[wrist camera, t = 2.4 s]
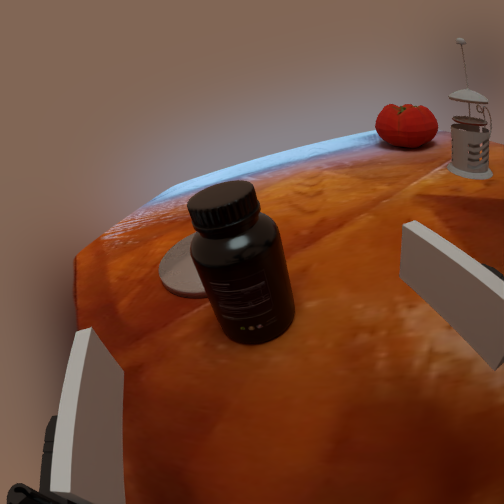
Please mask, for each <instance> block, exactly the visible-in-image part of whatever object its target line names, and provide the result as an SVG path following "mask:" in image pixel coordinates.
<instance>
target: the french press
mask: <svg viewBox="0 0 504 504" xmlns="http://www.w3.org/2000/svg"><path fill="white" fill-rule="evenodd" d="M456 43H457V44H460V45H461V49H462V54H463V48H462V44H466V42H465V40H464V39H462V38H457V39H456ZM463 60H464V54H463ZM464 67H465V60H464ZM465 74H466V67H465ZM466 83H467V74H466ZM448 97H449V99H451V100H455V101H460V102H467V103H469V117H468V116H467V117H466V116H454V117H453V118H452V119H453V120H454V121H455V122H457V123H461V124H453V125H451V138H452V162H450V163H449V164H448V166H447V168H448V170H449V171H450V172H452V173H454V174H456V175H459V176H462V177H466V178H471V179H488V178H490V177H492V176H493V173H492V171H491V170H490V169H489V168H488V166H489V161H488V159H489V138H490V135H491V129H492V123H491V117H490V124H491V125H490V127H491V128H490V134H489V130H488V129H486V128H485V126H486V125H487V121H485V115H484V107H485V106H483V110H482V108H481V107H480V106H479V105H477V106H476V107H477V111H478V106H479V107H480V108H481V110H482V112H480V111H478V112H479V113H483V116H484V120H482V119H480V118H479V119H477V118H472V117H470V103H476V104H488V102H489V101H488V100H487V99H486V98H485V97H484V96H483V95H481V94H479V93H477V92H475V91H471V90H470V89H468V83H467V89H465V90H458V91H456V92H454V93H452V94H450V95H449V96H448ZM485 108H486V107H485ZM486 109H487V108H486ZM487 111H488V113H489V110H488V109H487ZM489 116H490V113H489ZM479 126H484V128H482V131H483V132H482V133H480V129H479ZM459 129H463V130H466V131H463V130H459ZM482 142H483V146H481V147H480V144H481V143H482ZM468 145H469V147H468ZM481 150H482V153H481V154H480V151H481ZM468 151H469V154H468ZM481 157H482V160H481V161H479V158H481Z"/></svg>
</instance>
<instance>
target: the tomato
mask: <svg viewBox="0 0 504 504" xmlns="http://www.w3.org/2000/svg"><path fill="white" fill-rule="evenodd" d="M415 107H416V108H415ZM375 128H376V131H377V133H378V134H379V136H380V137H381V138H382V139H383V140H385V141H386V142H388V143H390V144H392V145H394V146H401V147H409V148H415V147H419V146H420V145H422V144H425V143H427V142H429V141H431V140H432V139H433V138H434V137H435V135H436V133H437V131H438V123H437V120H436V118H435V117H434V115H433V114H432V112H431V111H430V110H429V109H428V108H426V107H424V106H421V105H420V106H418V107H417V106H413V105H411V104H405V105H403V106H400V107H398V106H396V105H394V104H389V105H387V106H385V107H384V108H383V110H382V111H381V112H380V113H379V115H378V117H377V120H376V125H375Z"/></svg>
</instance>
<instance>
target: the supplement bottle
mask: <svg viewBox="0 0 504 504" xmlns="http://www.w3.org/2000/svg"><path fill="white" fill-rule="evenodd" d="M187 203H188V204H187V208H188V211H189V213H190V216H191V219H192V225H193V227H194V229H195V231H197V232H196V233H195V235H194V237H193V239H192V241H191V245H190V255H191V258H192V261H193V263H194V266H195V268H196V271H197V273H198V275H199V278H200V280H201V283H202V285H203V287H204V290H205V292H206V294H207V297H208V299H209V301H210V303H211V306H212V308H213V310H214V313H215V315H216V317H217V319H218V322H219V323H220V326H221V328H222V329H223V331H224V332H225V334H226V335H227V336H229V337H230V338H231V339H233V340H235V341H238V342H242V343H249V344H253V343H261V342H265V341H268V340H271V339H273V338H275V337H276V336H278V335H280V334H281V333H282V332H283V331H284V330H285V329H286V328H287V327H288V326H289V325H290V323H291V321H292V319H293V317H294V312H295V305H294V299H293V294H292V289H291V284H290V279H289V274H288V269H287V265H286V260H285V255H284V251H283V246H282V241H281V237H280V233H279V229H278V226H277V225H276V223H275V222H274V221H273V220H272V219H271V218H270V217H269V216H267V215H266V214H264V213H261V212H260V210H261V208H260V203H259V201H258V200H257V196H256V192H255V189H254V186H253V184H251V183H250V182H248V181H243V180H242V181H239V180H237V181H228V182H224V183H220V184H216V185H213V186H210V187H208V188H206V189H204V190H202V191H200V192H198V193H197V194H195V195H194V196H192V197H191V199H189V201H188V202H187Z"/></svg>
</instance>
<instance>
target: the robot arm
mask: <svg viewBox="0 0 504 504" xmlns="http://www.w3.org/2000/svg"><path fill="white" fill-rule="evenodd" d="M399 277H400V278H401V279H402V280H403V281H404V282H405V283H407V284H408V285H409V286H410V287H411V288H412V289H413V290H414V291H415V292H416V293H417V294H419V295H420V296H421V297H422V298H423V299H424V300H425V301H426V302H427V303H428V304H429V305H430V306H431V307H432V308H433V309H434V310H435V311H436V312H438V313H439V314H440V315H441V316H442V317H443V318H444V319H445V320H446V321H447V322H448V323H449V324H450V325H451V326H452V327H453V328H454V329H455V330H456V331H457V332H458V333H459V334H460V335H461V336H462V337H463V338H464V339H465V340H466V341H467V342H468V343H469V344H470V345H471V347H472V348H473V349H474V350H475V351H476V352H477V353H478V354H479V355H480V356H481V357H482V358H483V359H484V360H485V361H486V362H487V364H488V365H489V366H490V367H491V368H492V369H493V370H494V371H495V370H496V369H497V368H499V367H500V366H501V365H502V364H503V363H504V276H503V274H501V273H500V272H499V271H497V270H496V269H495V268H493V267H490V266H488V265H485V264H483V263H482V264H480V263H479V262H477V261H476V260H474V259H473V258H472V257H470V256H469V255H467V254H466V253H465V252H463V251H462V250H460V249H459V248H457V247H456V246H454V245H453V244H451V243H450V242H448V241H447V240H445V239H444V238H442V237H441V236H439V235H438V234H436V233H435V232H433V231H432V230H430V229H428V228H427V227H425V226H424V225H422V224H421V223H419V222H417V221H416V220H414V221H412V222H409V223H406V224H404V225H403V226H402V247H401V262H400V274H399ZM123 382H124V371H123V370H122V368H121V367H120V366H119V365H118V363H117V362H116V361H115V359H114V358H113V357H112V355H111V354H110V353H109V351H108V350H107V349H106V347H105V346H104V344H103V343H102V342H101V340H100V339H99V337H98V336H97V335H96V333H95V332H94V330H93V329H92V327H91V328H88V329H84V330H81V331H77V332H76V335H75V339H74V342H73V346H72V350H71V354H70V358H69V362H68V367H67V371H66V375H65V380H64V385H63V390H62V395H61V401H60V406H59V412H58V415H57V416H52V418H51V419H50V422H49V423H48V426H47V428H46V433H45V440H44V441H45V444H44V448H43V452H44V454H43V455H42V464H41V476H40V489H39V492H37V491H35V490H33V489H32V488H30V487H28V486H26V485H24V484H22V483H17V484H15V485H13V486H12V487H11V489H10V490H9V492H8V495H7V504H126V503H125V491H124V476H123V450H122V409H123Z"/></svg>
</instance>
